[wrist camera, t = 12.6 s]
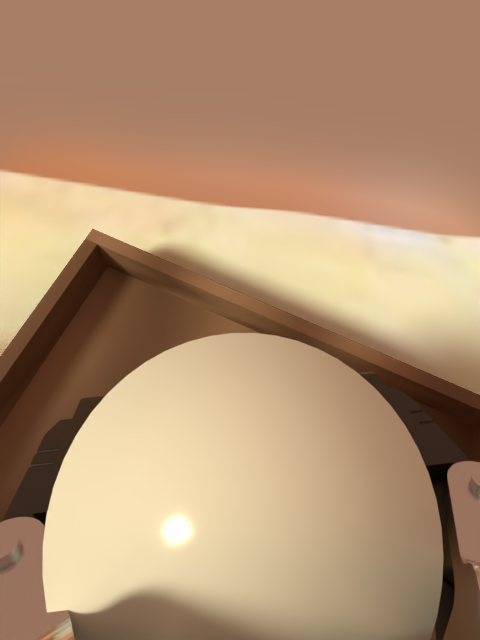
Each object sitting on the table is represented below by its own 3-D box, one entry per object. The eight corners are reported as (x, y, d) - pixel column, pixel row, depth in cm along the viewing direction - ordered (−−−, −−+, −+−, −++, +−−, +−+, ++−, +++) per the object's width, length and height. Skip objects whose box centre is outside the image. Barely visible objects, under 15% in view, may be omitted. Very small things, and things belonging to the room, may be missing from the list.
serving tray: (-77, 541, 15) (-145, 557, 12) (109, 264, 20) (92, 228, 18) (401, 792, 14) (455, 880, 11) (471, 422, 19) (520, 412, 16)
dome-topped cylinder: (130, 516, 15) (-50, 650, 5) (195, 387, 17) (166, 280, 7) (261, 583, 15) (374, 892, 4) (313, 443, 16) (481, 421, 6)
